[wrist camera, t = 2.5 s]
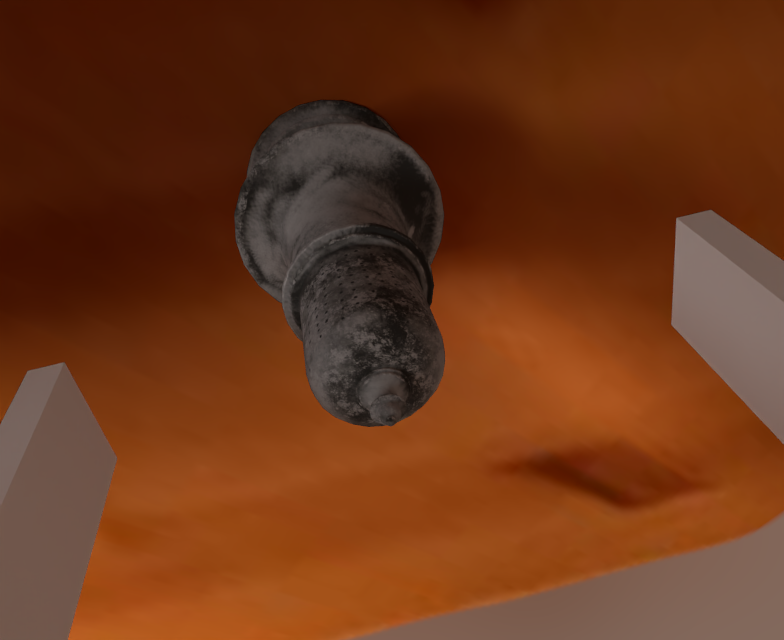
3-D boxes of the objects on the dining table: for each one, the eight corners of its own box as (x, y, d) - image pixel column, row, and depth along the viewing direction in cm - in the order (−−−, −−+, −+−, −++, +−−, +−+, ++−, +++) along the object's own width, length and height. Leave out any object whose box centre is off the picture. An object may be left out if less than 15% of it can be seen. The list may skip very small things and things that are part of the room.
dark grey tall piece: (210, 228, 22) (175, 503, 12) (278, 55, 20) (301, 223, 10) (372, 286, 25) (453, 561, 14) (451, 136, 22) (613, 341, 12)
